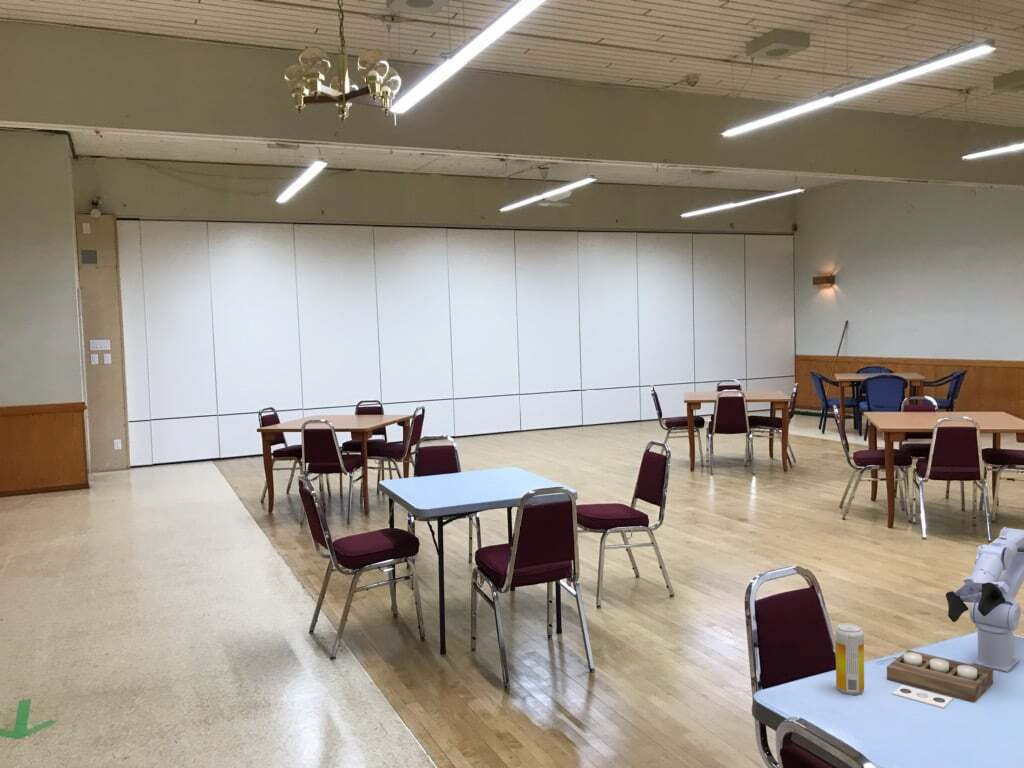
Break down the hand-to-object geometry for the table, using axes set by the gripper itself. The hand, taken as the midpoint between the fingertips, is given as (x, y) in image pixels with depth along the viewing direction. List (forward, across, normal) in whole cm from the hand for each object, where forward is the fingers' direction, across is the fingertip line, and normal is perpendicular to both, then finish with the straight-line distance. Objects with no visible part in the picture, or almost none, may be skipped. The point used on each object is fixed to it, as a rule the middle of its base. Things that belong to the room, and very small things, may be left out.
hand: (966, 615), depth 186 cm
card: (+16, -11, +8) cm, 21 cm away
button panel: (+6, -13, +12) cm, 19 cm away
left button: (+5, -18, +7) cm, 20 cm away
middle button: (+5, -12, +10) cm, 17 cm away
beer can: (+23, -22, -1) cm, 32 cm away
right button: (+5, -7, +13) cm, 15 cm away
